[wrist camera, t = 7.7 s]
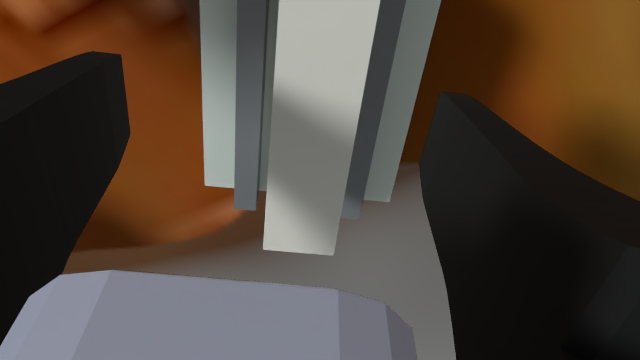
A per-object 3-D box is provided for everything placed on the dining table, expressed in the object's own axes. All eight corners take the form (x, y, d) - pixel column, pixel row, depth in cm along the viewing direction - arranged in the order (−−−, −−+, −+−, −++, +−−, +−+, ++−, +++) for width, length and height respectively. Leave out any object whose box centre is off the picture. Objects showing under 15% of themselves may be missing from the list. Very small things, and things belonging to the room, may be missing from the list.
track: (207, 177, 25) (198, 205, 23) (196, -245, 15) (180, -250, 14) (388, 194, 25) (392, 222, 24) (487, -203, 16) (507, -203, 14)
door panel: (277, 138, 23) (262, 249, 17) (297, -118, 17) (284, -74, 11) (331, 143, 23) (333, 255, 17) (369, -108, 17) (391, -60, 11)
